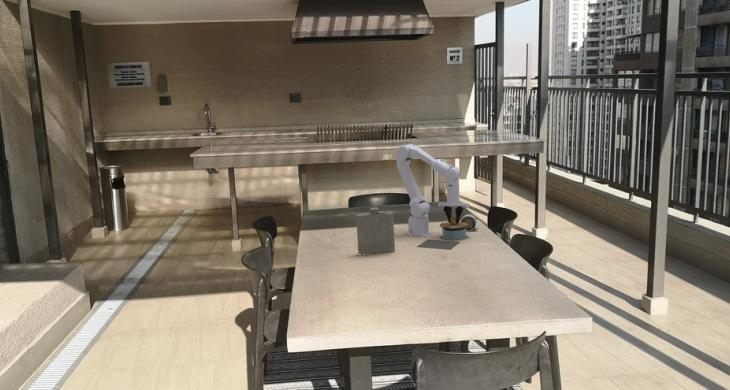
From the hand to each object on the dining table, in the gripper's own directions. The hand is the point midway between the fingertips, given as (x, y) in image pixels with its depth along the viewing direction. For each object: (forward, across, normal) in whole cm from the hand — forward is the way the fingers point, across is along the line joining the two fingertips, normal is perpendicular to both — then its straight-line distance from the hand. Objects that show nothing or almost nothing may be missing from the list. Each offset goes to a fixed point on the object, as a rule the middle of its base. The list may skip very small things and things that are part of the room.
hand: (453, 222), depth 278 cm
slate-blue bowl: (+7, 0, 0) cm, 7 cm away
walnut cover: (+2, 0, 0) cm, 2 cm away
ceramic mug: (+7, 0, +16) cm, 18 cm away
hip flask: (+7, -23, -35) cm, 43 cm away
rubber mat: (+7, -2, -15) cm, 17 cm away
